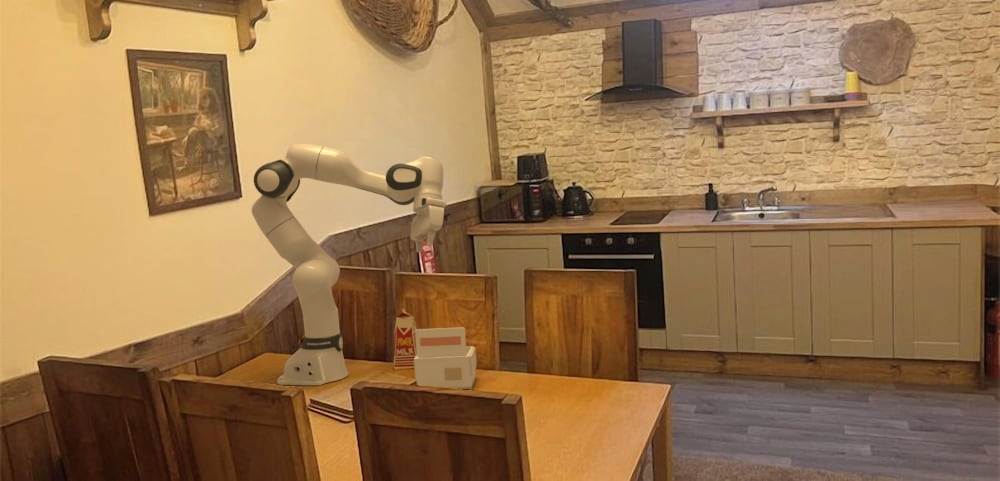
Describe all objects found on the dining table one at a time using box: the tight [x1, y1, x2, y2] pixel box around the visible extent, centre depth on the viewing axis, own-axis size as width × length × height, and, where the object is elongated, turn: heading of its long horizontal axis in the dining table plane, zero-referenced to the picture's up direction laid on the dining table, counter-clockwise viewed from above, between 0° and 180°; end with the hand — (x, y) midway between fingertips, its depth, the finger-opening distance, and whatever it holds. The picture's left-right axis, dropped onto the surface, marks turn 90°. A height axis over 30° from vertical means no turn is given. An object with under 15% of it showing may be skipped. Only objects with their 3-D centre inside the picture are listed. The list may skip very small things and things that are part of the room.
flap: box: [415, 326, 467, 357], centre depth 213 cm, size 15×8×1 cm
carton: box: [413, 345, 478, 391], centre depth 220 cm, size 17×13×10 cm
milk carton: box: [392, 308, 417, 368], centre depth 244 cm, size 9×9×20 cm
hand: (424, 249), depth 227 cm, fingers open, 8 cm apart
